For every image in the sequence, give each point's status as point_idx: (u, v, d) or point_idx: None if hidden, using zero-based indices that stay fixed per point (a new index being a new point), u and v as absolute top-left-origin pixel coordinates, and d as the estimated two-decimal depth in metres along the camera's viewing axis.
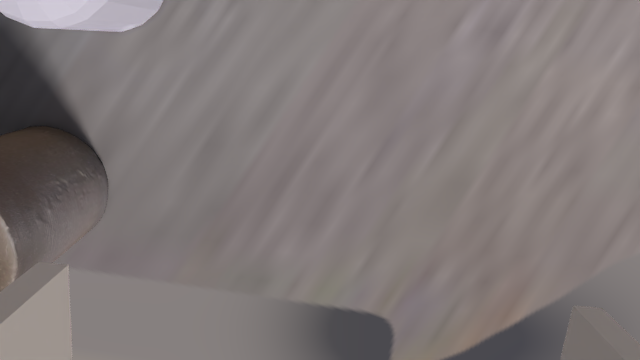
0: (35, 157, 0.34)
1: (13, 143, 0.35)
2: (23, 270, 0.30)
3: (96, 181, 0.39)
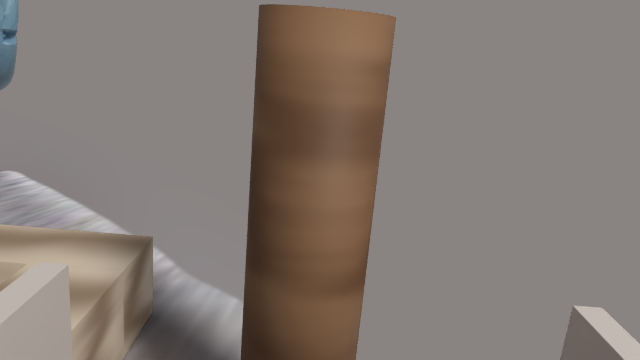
0: None
1: None
2: None
3: None
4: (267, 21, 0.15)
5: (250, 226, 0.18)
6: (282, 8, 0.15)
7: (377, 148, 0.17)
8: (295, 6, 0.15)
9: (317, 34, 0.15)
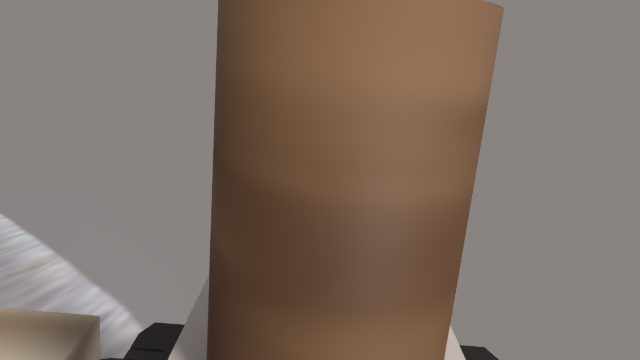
0: None
1: None
2: None
3: None
4: (231, 18, 0.07)
5: None
6: None
7: (457, 272, 0.08)
8: None
9: (345, 48, 0.06)
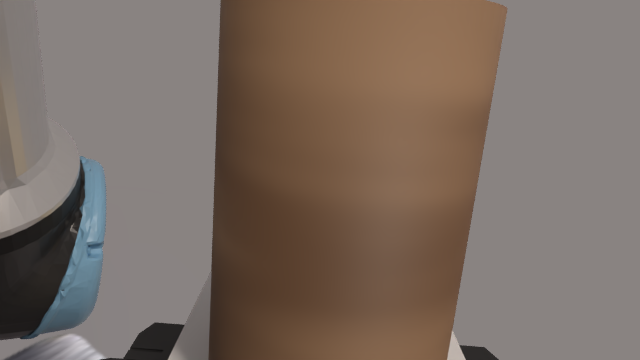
0: None
1: None
2: None
3: None
4: (234, 18, 0.07)
5: None
6: None
7: (460, 273, 0.08)
8: None
9: (348, 48, 0.06)
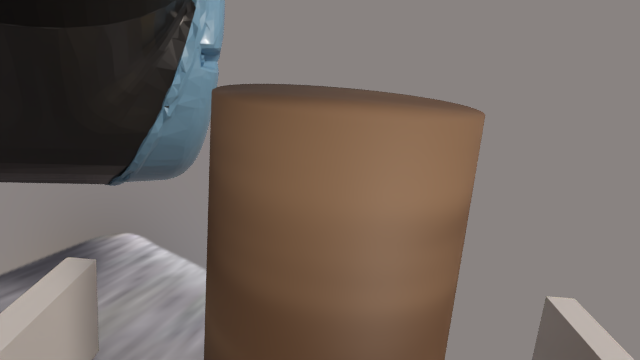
0: None
1: None
2: None
3: None
4: (223, 131, 0.07)
5: None
6: (252, 113, 0.07)
7: (443, 359, 0.09)
8: (280, 112, 0.07)
9: (330, 174, 0.07)
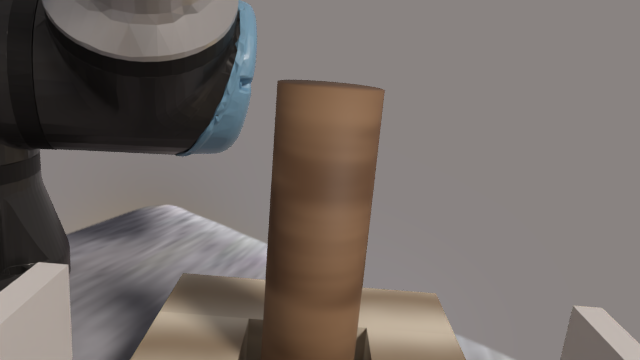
0: None
1: None
2: None
3: None
4: (284, 96, 0.20)
5: (270, 252, 0.22)
6: (296, 88, 0.20)
7: (370, 191, 0.21)
8: (306, 88, 0.19)
9: (324, 109, 0.19)
